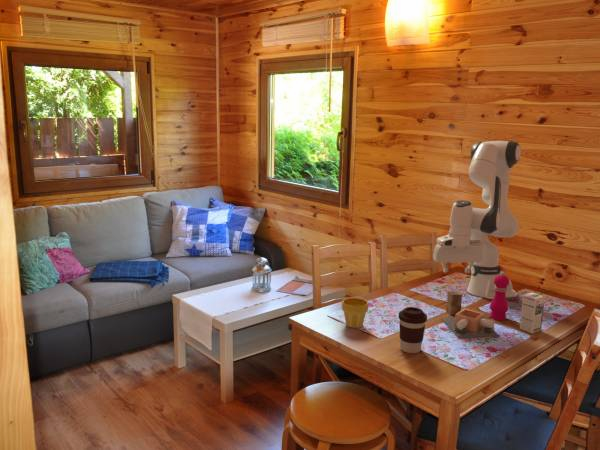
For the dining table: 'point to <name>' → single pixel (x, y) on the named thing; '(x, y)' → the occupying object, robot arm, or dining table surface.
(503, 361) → the dining table surface
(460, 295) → the walnut coupler
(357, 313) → the plant pot
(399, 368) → the dining table surface
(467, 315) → the grey base with box
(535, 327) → the syrup box
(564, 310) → the dining table surface
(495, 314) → the pepper mill
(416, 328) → the coffee cup
